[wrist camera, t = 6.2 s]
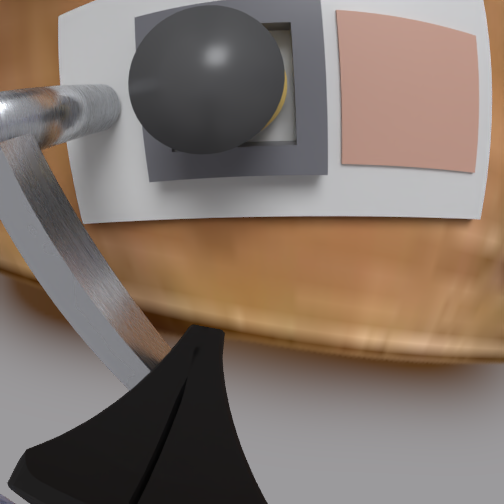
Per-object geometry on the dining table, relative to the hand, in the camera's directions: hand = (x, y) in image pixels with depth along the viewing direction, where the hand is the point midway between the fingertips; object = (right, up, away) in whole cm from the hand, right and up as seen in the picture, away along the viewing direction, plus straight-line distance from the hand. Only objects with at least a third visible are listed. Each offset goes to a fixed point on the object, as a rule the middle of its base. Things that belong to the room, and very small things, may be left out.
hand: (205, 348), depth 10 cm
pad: (+9, +10, +1) cm, 13 cm away
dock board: (+3, +11, +2) cm, 11 cm away
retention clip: (-3, +6, +4) cm, 8 cm away
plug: (+1, +10, +2) cm, 10 cm away
